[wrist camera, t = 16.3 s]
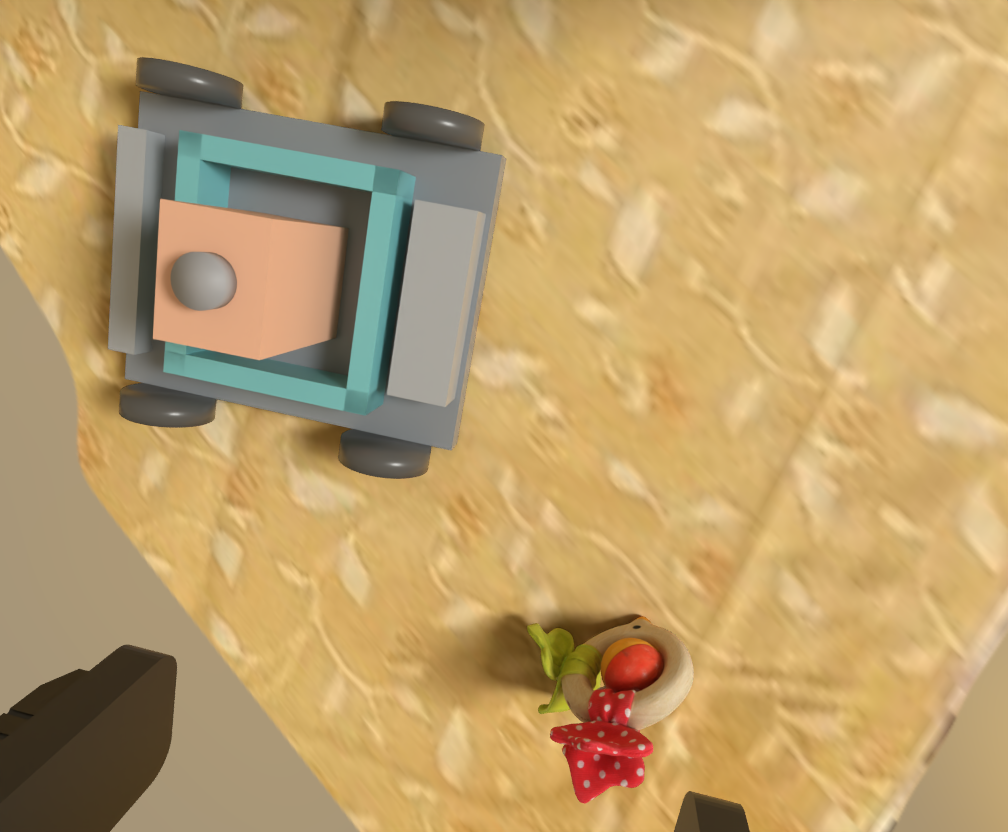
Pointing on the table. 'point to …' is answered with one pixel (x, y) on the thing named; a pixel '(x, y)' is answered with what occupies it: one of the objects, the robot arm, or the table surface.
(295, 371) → the chassis
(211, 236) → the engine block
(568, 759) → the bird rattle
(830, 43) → the table surface
